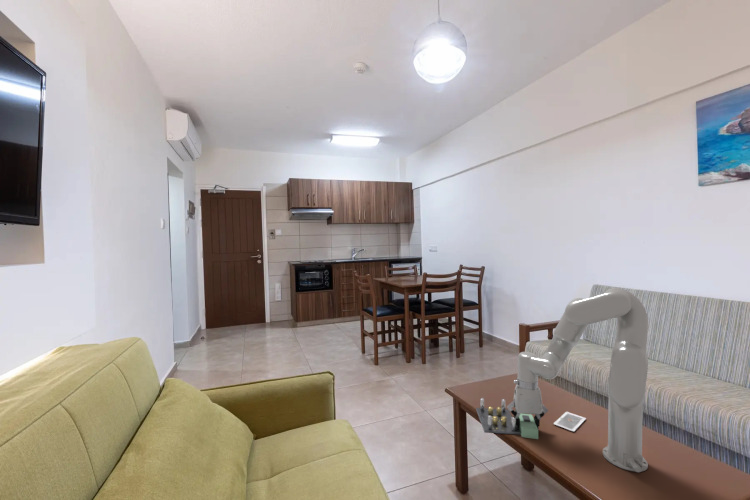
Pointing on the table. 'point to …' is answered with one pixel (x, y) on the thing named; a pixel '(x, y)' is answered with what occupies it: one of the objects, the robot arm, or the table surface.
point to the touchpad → (569, 421)
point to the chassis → (497, 419)
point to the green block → (528, 426)
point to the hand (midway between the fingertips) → (526, 426)
